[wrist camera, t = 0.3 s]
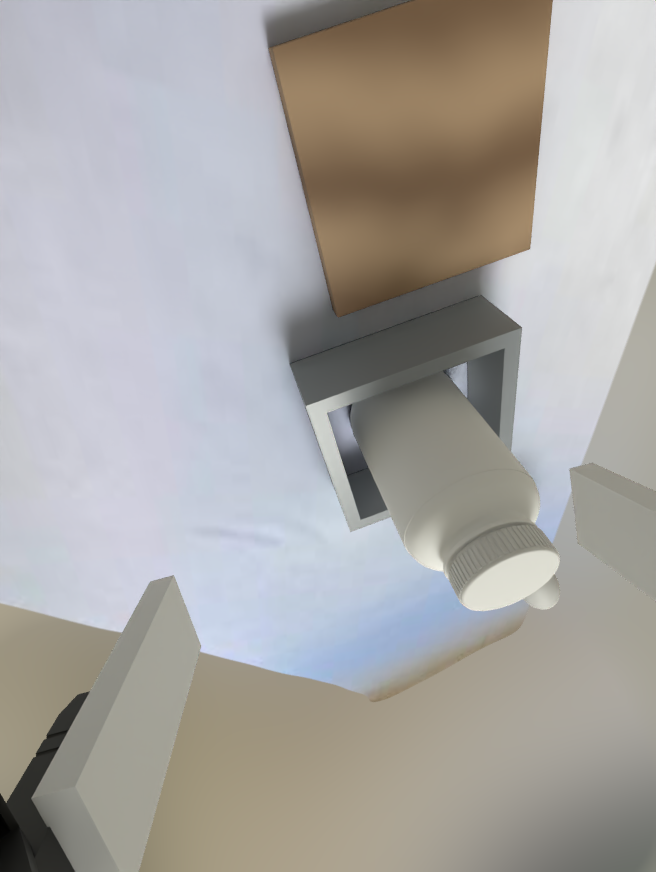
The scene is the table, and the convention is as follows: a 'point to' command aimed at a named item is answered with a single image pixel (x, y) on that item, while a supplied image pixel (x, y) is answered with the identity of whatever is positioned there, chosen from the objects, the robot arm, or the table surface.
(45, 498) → the table surface
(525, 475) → the pill bottle
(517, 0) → the pad
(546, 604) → the donut
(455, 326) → the sleeve
